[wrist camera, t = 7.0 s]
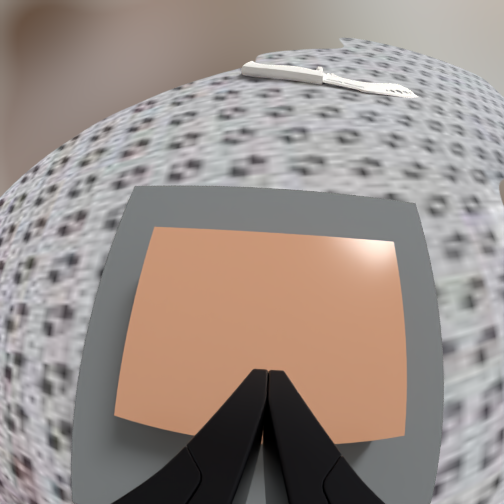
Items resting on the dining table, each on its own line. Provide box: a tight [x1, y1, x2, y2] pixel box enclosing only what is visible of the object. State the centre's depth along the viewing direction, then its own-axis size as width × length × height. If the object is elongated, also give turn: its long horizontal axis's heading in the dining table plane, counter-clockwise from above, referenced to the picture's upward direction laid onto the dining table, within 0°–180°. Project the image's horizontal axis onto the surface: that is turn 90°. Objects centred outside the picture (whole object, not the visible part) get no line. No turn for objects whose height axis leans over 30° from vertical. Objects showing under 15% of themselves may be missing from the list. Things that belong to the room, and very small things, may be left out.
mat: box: [71, 186, 444, 504], centre depth 14 cm, size 24×22×1 cm
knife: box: [241, 61, 418, 98], centre depth 30 cm, size 31×6×2 cm, turn 90°
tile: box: [114, 227, 407, 444], centre depth 13 cm, size 3×13×10 cm
